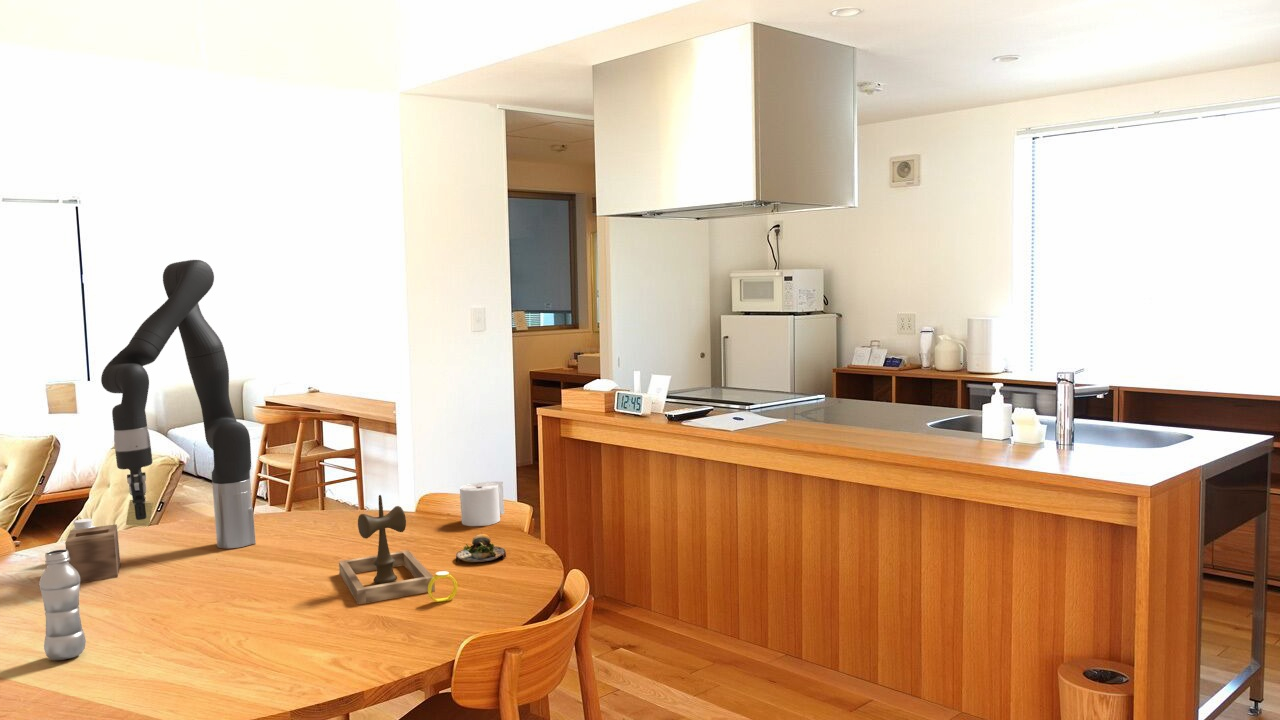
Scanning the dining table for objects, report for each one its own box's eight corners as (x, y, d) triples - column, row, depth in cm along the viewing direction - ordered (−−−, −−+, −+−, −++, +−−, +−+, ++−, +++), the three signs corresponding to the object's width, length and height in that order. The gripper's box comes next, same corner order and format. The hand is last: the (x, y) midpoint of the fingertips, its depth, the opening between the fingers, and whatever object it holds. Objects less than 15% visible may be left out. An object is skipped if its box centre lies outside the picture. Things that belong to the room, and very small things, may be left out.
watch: (431, 605, 200) (429, 577, 199) (427, 602, 202) (425, 574, 201) (459, 599, 203) (457, 571, 202) (454, 596, 205) (453, 568, 204)
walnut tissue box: (120, 563, 241) (116, 524, 240) (117, 577, 229) (114, 535, 228) (74, 570, 237) (70, 530, 236) (69, 584, 225) (65, 542, 224)
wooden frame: (409, 562, 231) (408, 550, 231) (434, 590, 209) (434, 577, 209) (339, 573, 224) (338, 561, 224) (358, 604, 202) (357, 590, 202)
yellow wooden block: (149, 523, 233) (152, 501, 233) (149, 526, 231) (153, 503, 231) (126, 522, 231) (129, 499, 231) (125, 524, 228) (129, 501, 228)
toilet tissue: (456, 526, 264) (454, 490, 263) (470, 515, 276) (468, 481, 275) (493, 526, 262) (491, 490, 262) (506, 515, 274) (504, 481, 273)
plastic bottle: (56, 652, 182) (46, 548, 180) (93, 649, 182) (84, 546, 180) (38, 665, 175) (27, 558, 174) (76, 663, 176) (66, 555, 174)
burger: (446, 564, 229) (444, 534, 229) (473, 551, 240) (471, 521, 240) (490, 568, 225) (488, 537, 224) (515, 554, 236) (513, 524, 235)
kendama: (411, 580, 217) (405, 493, 216) (370, 590, 211) (364, 500, 210) (399, 574, 222) (394, 489, 220) (359, 584, 216) (353, 496, 214)
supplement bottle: (101, 559, 246) (97, 520, 245) (76, 564, 242) (72, 524, 241) (96, 555, 250) (93, 516, 249) (72, 559, 246) (68, 520, 246)
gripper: (150, 448, 225) (159, 521, 226) (150, 440, 237) (158, 509, 239) (114, 453, 221) (123, 527, 223) (115, 445, 234) (124, 514, 235)
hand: (141, 517), depth 231 cm, fingers closed on yellow wooden block, 2 cm apart
